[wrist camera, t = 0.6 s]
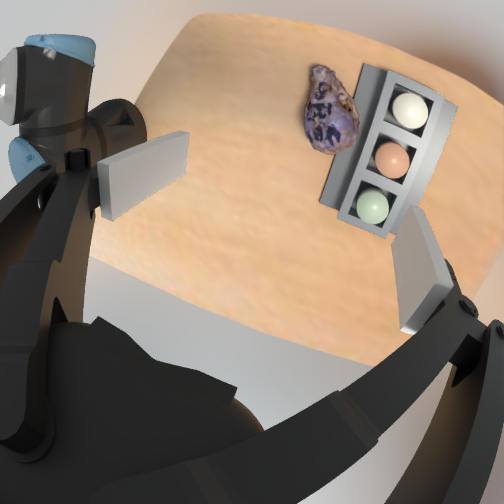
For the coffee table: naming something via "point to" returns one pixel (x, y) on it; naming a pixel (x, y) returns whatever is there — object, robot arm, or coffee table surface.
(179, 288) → the coffee table surface
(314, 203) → the coffee table surface
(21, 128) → the robot arm
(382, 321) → the coffee table surface
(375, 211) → the button sage
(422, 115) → the button cream
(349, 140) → the purple lumpy piece
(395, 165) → the button terracotta
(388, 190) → the button panel
